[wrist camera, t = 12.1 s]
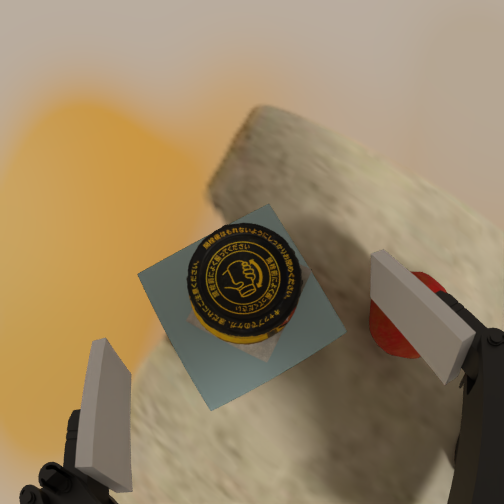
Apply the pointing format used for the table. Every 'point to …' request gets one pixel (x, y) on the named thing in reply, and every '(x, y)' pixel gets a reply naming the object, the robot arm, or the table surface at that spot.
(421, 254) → the table surface
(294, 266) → the condiment
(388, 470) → the table surface
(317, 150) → the table surface
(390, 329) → the apple
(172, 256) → the tower top
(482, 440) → the robot arm
